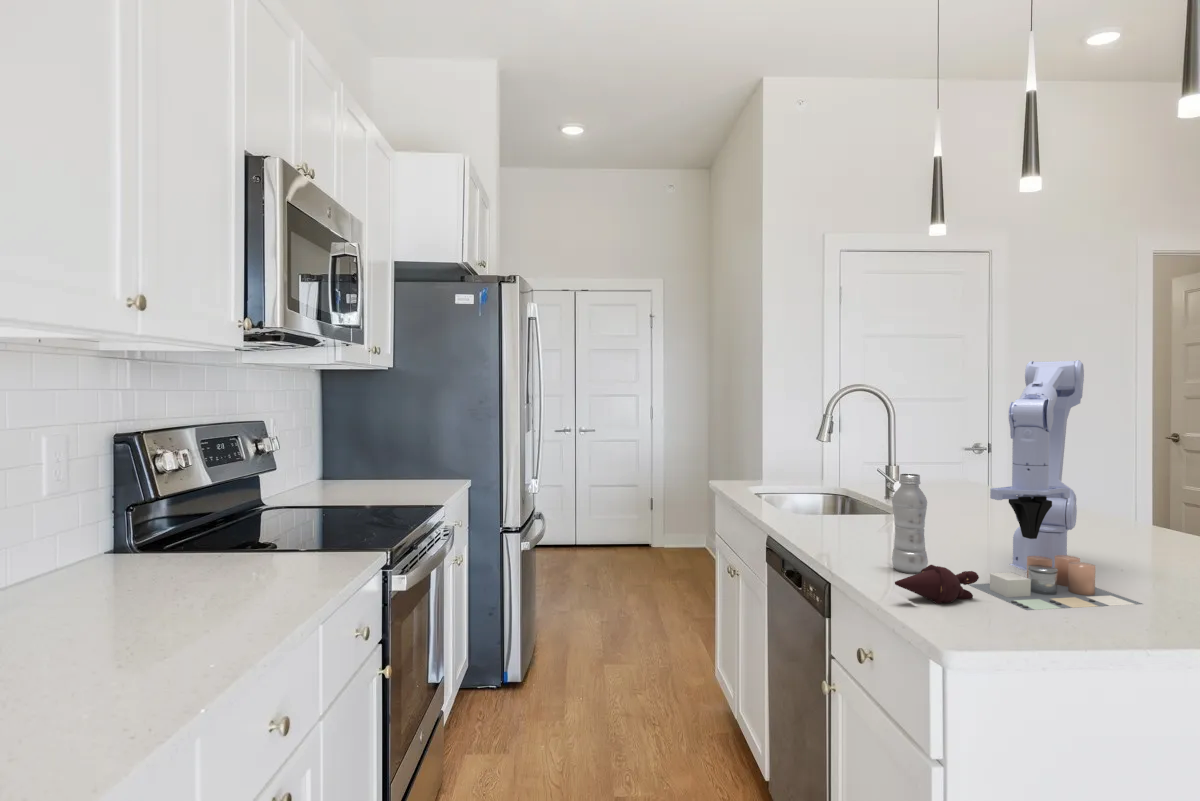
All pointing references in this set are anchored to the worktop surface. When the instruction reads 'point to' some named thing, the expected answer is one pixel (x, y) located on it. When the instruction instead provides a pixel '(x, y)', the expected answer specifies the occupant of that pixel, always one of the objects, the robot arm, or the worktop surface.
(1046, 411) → the robot arm
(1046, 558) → the tan rounded block
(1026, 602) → the board
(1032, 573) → the tin
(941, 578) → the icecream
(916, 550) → the plastic bottle
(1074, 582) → the tan rounded cylinder
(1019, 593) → the white block
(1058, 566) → the tan rounded block
